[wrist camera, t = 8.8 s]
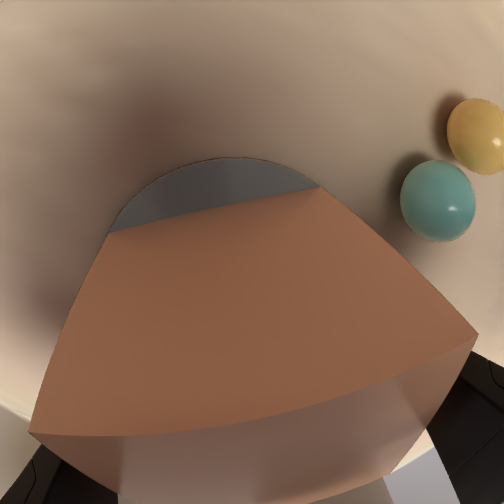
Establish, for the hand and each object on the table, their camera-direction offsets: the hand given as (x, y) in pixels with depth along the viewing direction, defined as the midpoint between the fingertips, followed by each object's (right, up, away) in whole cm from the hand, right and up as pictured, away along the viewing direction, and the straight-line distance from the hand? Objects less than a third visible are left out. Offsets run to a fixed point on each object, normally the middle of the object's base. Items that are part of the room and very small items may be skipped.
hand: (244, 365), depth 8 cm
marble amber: (+9, +8, +1) cm, 12 cm away
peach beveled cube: (0, +2, +3) cm, 3 cm away
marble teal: (+7, +6, +2) cm, 9 cm away
